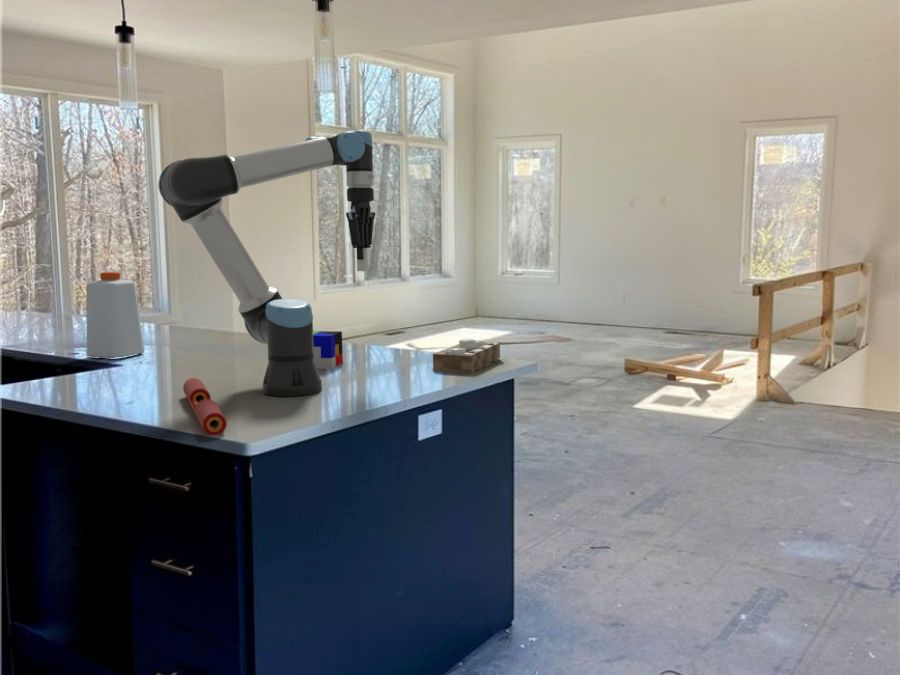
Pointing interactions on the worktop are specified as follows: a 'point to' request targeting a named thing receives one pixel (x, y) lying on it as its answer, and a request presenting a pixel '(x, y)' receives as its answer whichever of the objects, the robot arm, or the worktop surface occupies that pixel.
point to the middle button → (467, 344)
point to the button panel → (466, 359)
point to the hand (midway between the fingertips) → (362, 270)
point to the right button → (480, 343)
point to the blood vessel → (204, 407)
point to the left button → (457, 351)
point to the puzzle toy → (327, 349)
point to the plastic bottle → (112, 317)
